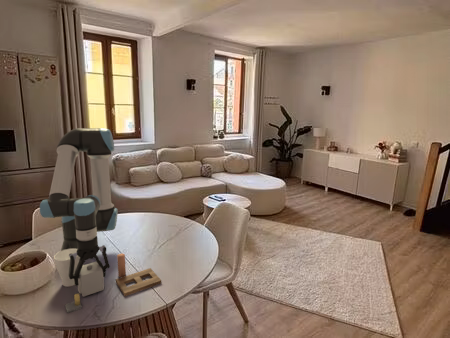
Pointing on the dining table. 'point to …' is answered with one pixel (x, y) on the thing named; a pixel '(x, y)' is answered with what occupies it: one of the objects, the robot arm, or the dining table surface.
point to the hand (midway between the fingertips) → (91, 287)
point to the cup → (65, 265)
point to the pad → (74, 304)
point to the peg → (121, 265)
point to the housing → (91, 279)
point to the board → (138, 281)
